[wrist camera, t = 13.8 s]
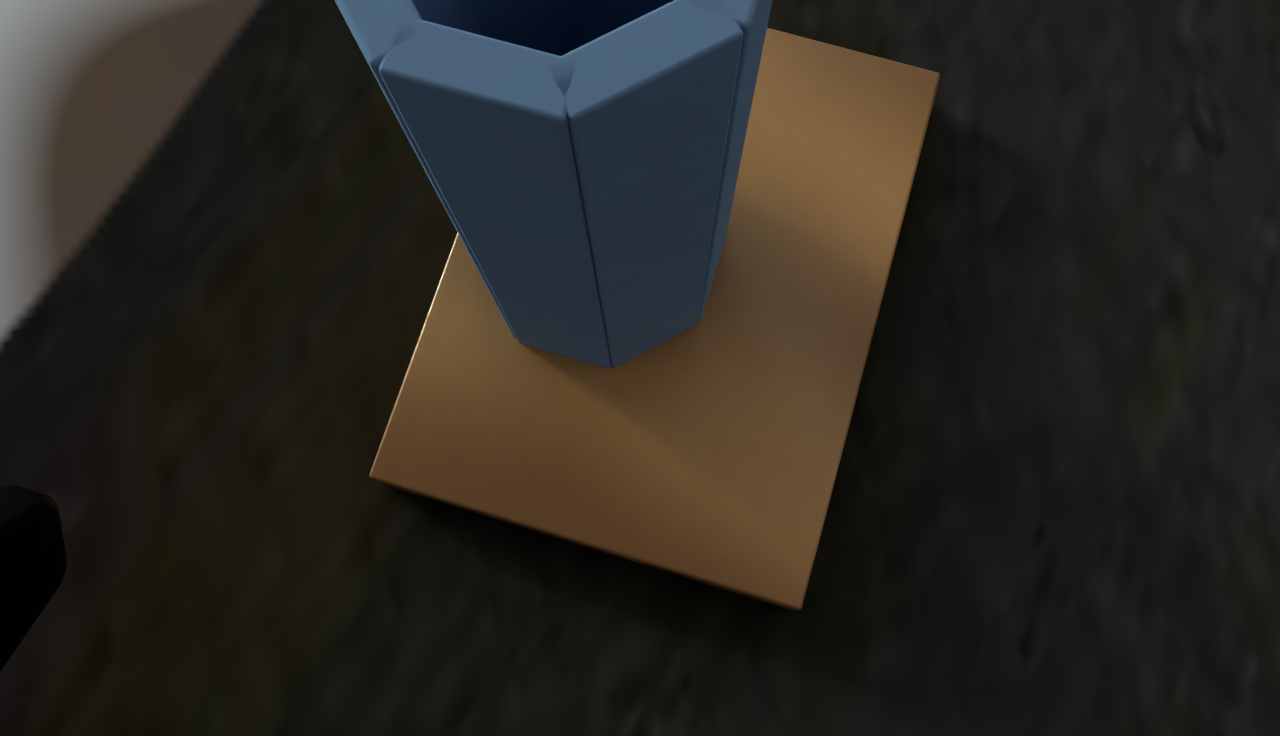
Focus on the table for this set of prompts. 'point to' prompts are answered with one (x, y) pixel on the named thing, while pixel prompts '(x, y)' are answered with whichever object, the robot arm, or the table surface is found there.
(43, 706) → the table surface
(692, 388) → the base
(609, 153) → the sleeve
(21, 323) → the table surface
